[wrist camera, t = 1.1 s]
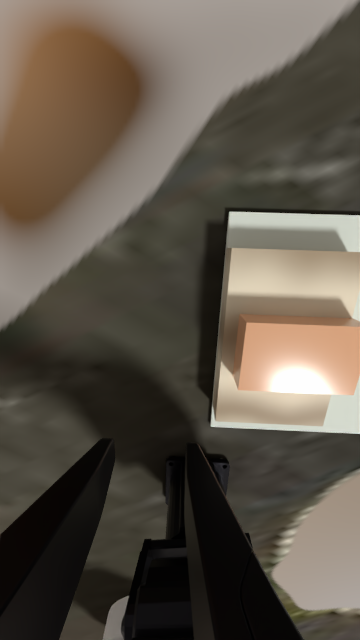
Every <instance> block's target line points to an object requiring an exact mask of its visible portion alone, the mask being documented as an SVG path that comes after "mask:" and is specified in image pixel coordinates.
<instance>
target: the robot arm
mask: <svg viewBox="0 0 360 640" xmlns="http://www.w3.org/2000/svg"><path fill="white" fill-rule="evenodd" d="M114 462H115V448H114V440H113V439H111V438H102V439H100V440H99V441H98V442H97V443H96V444H95V445H94V446H93V447H92V448H91V449H90V450H89V451H88V452H87V453H86V454H85V455H83V456H82V457H81V458H80V459H79V460H78V461H77V462H76V463H75V464H74V465H73V466H72V467H71V468H70V469H69V470H68V471H67V472H66V473H65V474H64V475H62V476H61V477H60V478H59V479H58V480H57V481H56V482H55V483H54V484H53V485H52V486H51V487H50V488H49V489H48V490H47V491H46V492H45V493H44V494H42V495H41V496H40V497H39V498H38V499H37V500H36V501H35V502H34V503H33V504H32V505H31V506H30V507H29V508H28V509H27V510H26V511H25V512H24V513H23V514H21V515H20V516H19V517H18V518H17V519H16V520H15V521H14V522H13V523H12V524H11V525H10V526H9V527H8V528H7V529H6V530H5V531H4V532H3V533H1V535H0V640H59V638H60V635H61V632H62V629H63V626H64V623H65V620H66V618H67V615H68V612H69V609H70V606H71V603H72V600H73V597H74V594H75V591H76V588H77V586H78V583H79V580H80V577H81V574H82V571H83V568H84V565H85V562H86V559H87V556H88V554H89V551H90V548H91V545H92V542H93V539H94V536H95V533H96V530H97V527H98V524H99V521H100V518H101V515H102V511H103V508H104V504H105V500H106V496H107V491H108V487H109V483H110V479H111V475H112V471H113V467H114ZM229 468H230V466H229V462H228V461H227V460H224V459H206V457H205V455H204V454H203V452H202V450H201V448H200V446H199V444H198V443H194V442H187V443H186V457H185V458H184V457H169V458H167V461H166V504H167V505H168V512H167V526H166V539H162V540H151V539H145V540H144V543H143V547H142V551H141V552H140V555H139V559H138V563H137V567H136V571H135V575H134V579H133V582H132V586H131V590H130V594H129V598H128V602H127V606H126V610H125V614H124V616H123V619H122V623H121V634H122V636H123V639H124V640H304V639H303V637H302V636H301V634H300V632H299V631H298V629H297V627H296V626H295V624H294V622H293V621H292V619H291V617H290V616H289V614H288V612H287V611H286V609H285V607H284V606H283V604H282V602H281V601H280V599H279V597H278V595H277V594H276V592H275V590H274V588H273V586H272V584H271V582H270V581H269V579H268V577H267V575H266V573H265V571H264V570H263V568H262V566H261V564H260V562H259V560H258V558H257V556H256V554H255V553H254V552H253V548H252V544H251V540H250V536H249V533H244V531H243V529H242V527H241V525H240V523H239V521H238V519H237V518H236V516H235V514H234V512H233V510H232V508H231V506H230V504H229V502H228V500H227V498H226V492H227V484H228V476H229Z"/></svg>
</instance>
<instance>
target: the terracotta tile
mask: <svg viewBox="0 0 360 640" xmlns="http://www.w3.org/2000/svg"><path fill="white" fill-rule="evenodd" d="M359 376H360V321H358V320H355V319H353V318H333V317H306V316H280V315H253V314H240V315H239V323H238V332H237V341H236V350H235V358H234V367H233V378H234V380H235V383H236V386H237V389H238V390H244V391H266V392H289V393H312V394H335V395H354V392H355V389H356V386H357V383H358V379H359Z"/></svg>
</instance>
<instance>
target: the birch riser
mask: <svg viewBox="0 0 360 640" xmlns="http://www.w3.org/2000/svg"><path fill="white" fill-rule="evenodd" d="M359 291H360V252H341V251H310V250H279V249H248V248H227V249H226V260H225V271H224V283H223V294H222V305H221V316H220V328H219V339H218V350H217V362H216V373H215V384H214V396H213V410H214V416H215V421H218V422H239V423H261V424H282V425H304V426H323V424H324V420H325V416H326V413H327V409H328V405H329V402H330V398H331V394H312V393H289V392H266V391H244V390H238V389H237V386H236V383H235V380H234V378H233V367H234V358H235V350H236V341H237V332H238V323H239V315H240V314H253V315H280V316H306V317H333V318H352V317H353V313H354V309H355V306H356V302H357V298H358V295H359Z"/></svg>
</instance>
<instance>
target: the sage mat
mask: <svg viewBox="0 0 360 640" xmlns="http://www.w3.org/2000/svg"><path fill="white" fill-rule="evenodd" d="M227 248H248V249H279V250H310V251H341V252H360V215H328V214H294V213H260V212H229V216H228V227H227V239H226V249H227ZM225 260H226V250H225ZM224 271H225V262H224ZM223 283H224V273H223ZM222 294H223V284H222ZM221 305H222V296H221ZM220 316H221V307H220ZM352 318H353V319H355V320H358V321H360V291H359V295H358V298H357V302H356V306H355V309H354V313H353V317H352ZM219 328H220V319H219ZM218 339H219V330H218ZM217 350H218V342H217ZM216 362H217V353H216ZM215 373H216V365H215ZM214 384H215V376H214ZM213 396H214V387H213ZM210 425H211V427H227V428H248V429H269V430H290V431H312V432H333V433H354V434H360V376H359V379H358V383H357V386H356V389H355V392H354V395H335V394H331V398H330V402H329V405H328V409H327V413H326V416H325V420H324V424H323V426H304V425H282V424H261V423H239V422H218V421H215V416H214V410H213V399H212V410H211V422H210Z"/></svg>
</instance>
